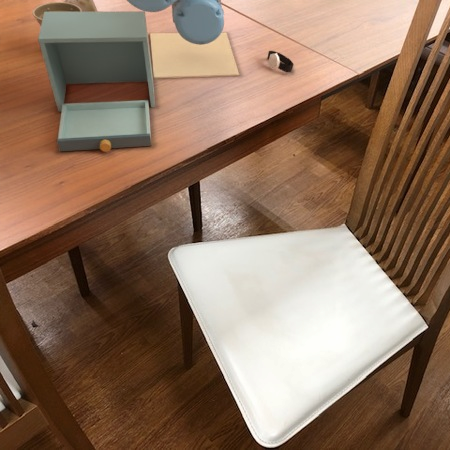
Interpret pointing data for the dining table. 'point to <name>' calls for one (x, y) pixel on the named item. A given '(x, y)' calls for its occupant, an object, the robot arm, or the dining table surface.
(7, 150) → the dining table surface
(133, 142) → the drawer
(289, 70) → the watch
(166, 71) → the mat
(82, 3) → the mug
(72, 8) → the flower pot
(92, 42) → the cubby
